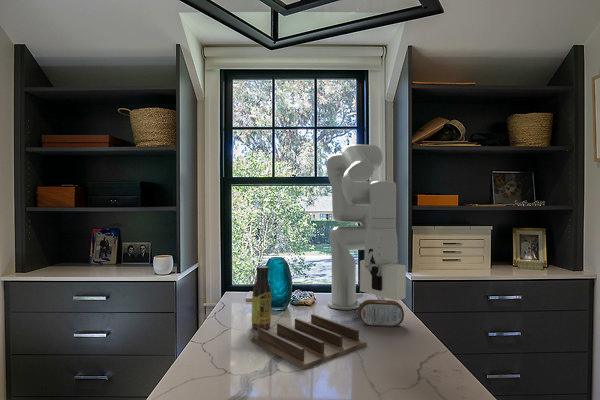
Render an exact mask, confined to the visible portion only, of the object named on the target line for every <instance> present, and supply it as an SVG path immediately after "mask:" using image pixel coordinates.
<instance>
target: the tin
mask: <svg viewBox="0 0 600 400" xmlns="http://www.w3.org/2000/svg"><path fill="white" fill-rule="evenodd" d="M357 312H358V317H359V319H360V320H361V322H362V323H363V324H364V325H365V326H369V327H370V326H371V327H390V328H394V327H398V326H399V325H401V324H402V323H403V321H404V318H405V311H404V308H403V306H402V305H401V304H400V303H399V302H397V301H396V300H391V299H390V300H389V299H388V300H383V299H366V300H364V301H362V302H361V304H360V306H359V307H358V311H357Z"/></svg>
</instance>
